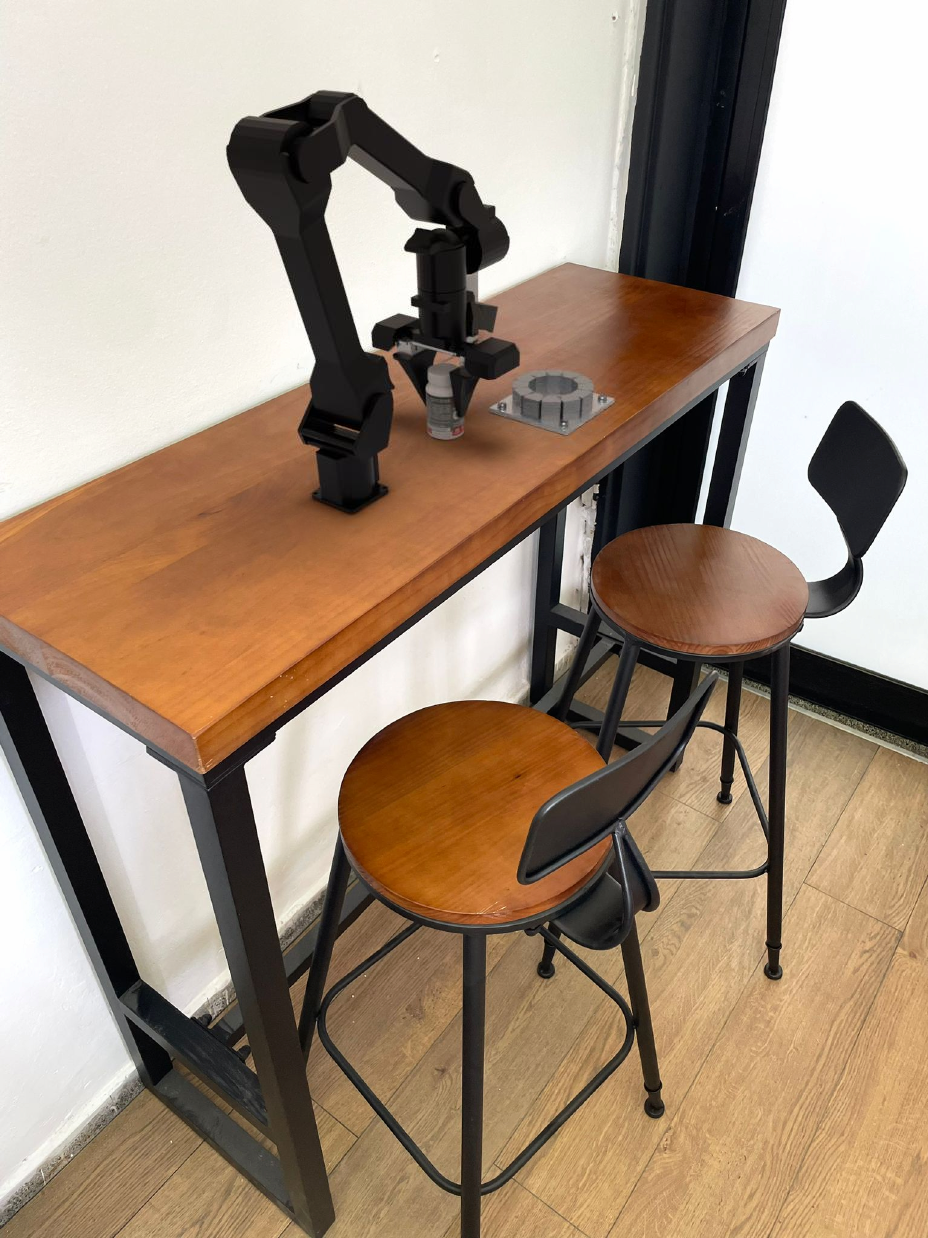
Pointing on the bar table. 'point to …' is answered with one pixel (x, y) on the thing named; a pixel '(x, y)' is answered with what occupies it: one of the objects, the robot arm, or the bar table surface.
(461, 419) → the pill bottle
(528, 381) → the socket
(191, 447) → the bar table surface
